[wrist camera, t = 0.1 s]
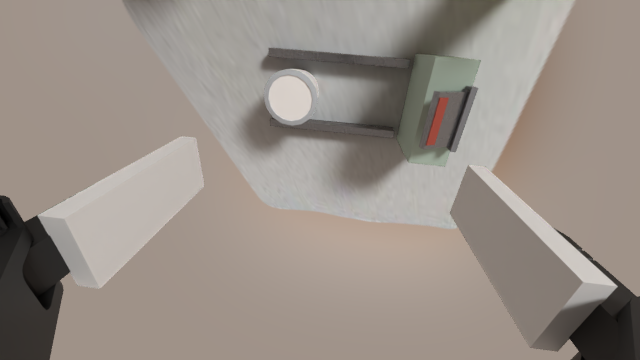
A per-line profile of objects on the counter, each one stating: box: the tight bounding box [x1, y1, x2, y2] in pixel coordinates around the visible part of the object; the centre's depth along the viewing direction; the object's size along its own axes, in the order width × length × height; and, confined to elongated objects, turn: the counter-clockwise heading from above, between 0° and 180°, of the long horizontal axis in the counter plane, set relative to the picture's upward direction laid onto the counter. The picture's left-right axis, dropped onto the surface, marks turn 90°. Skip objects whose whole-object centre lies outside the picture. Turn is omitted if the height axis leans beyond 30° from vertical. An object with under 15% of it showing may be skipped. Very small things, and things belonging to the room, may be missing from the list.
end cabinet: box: [397, 54, 481, 167], centre depth 32 cm, size 12×4×10 cm, turn 175°
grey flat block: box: [419, 89, 469, 150], centre depth 27 cm, size 6×5×1 cm
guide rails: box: [269, 48, 410, 138], centre depth 37 cm, size 10×18×2 cm, turn 85°
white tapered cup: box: [264, 69, 319, 126], centre depth 35 cm, size 7×7×7 cm
